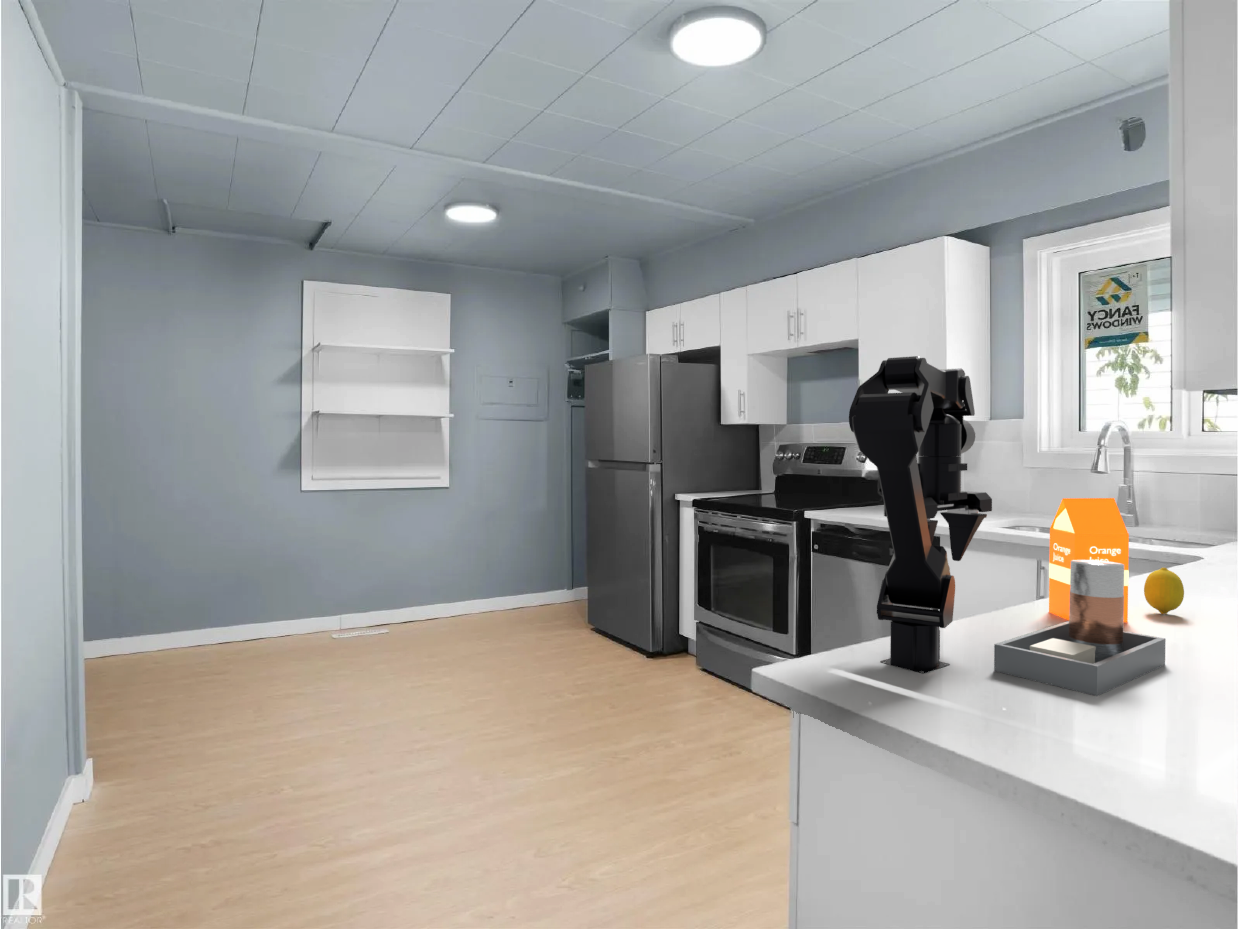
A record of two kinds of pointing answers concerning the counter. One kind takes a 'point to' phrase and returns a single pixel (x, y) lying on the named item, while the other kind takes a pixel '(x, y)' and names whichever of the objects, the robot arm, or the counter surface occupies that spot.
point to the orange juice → (1084, 545)
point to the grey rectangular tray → (1074, 674)
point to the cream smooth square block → (1066, 650)
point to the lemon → (1164, 590)
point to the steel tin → (1097, 606)
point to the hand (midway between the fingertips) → (938, 563)
